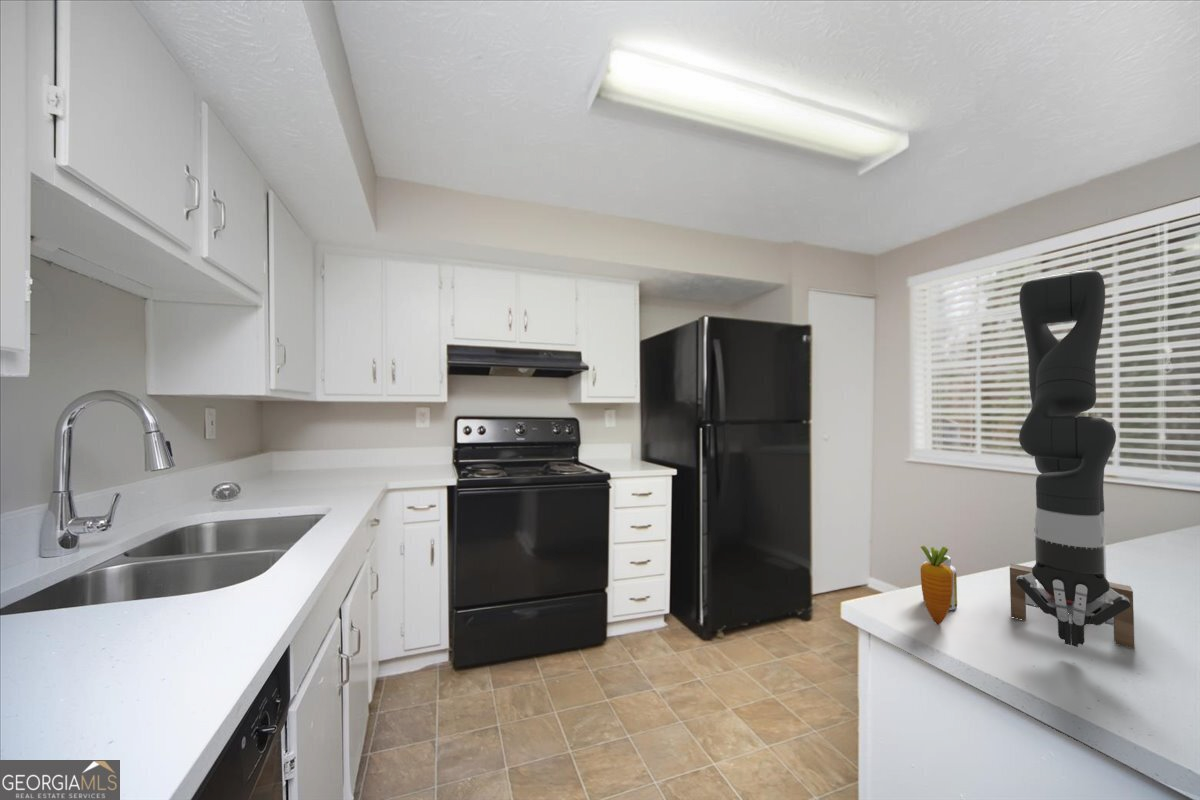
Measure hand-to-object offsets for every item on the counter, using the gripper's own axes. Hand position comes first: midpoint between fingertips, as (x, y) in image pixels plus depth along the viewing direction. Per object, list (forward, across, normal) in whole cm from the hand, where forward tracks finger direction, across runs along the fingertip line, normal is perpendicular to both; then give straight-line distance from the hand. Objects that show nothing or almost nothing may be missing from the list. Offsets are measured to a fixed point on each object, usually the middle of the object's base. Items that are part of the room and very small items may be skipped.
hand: (1070, 643), depth 69 cm
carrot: (+3, +17, +2) cm, 17 cm away
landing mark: (+3, 0, -27) cm, 27 cm away
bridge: (+2, 0, -13) cm, 13 cm away
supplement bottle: (+3, +18, -8) cm, 20 cm away
